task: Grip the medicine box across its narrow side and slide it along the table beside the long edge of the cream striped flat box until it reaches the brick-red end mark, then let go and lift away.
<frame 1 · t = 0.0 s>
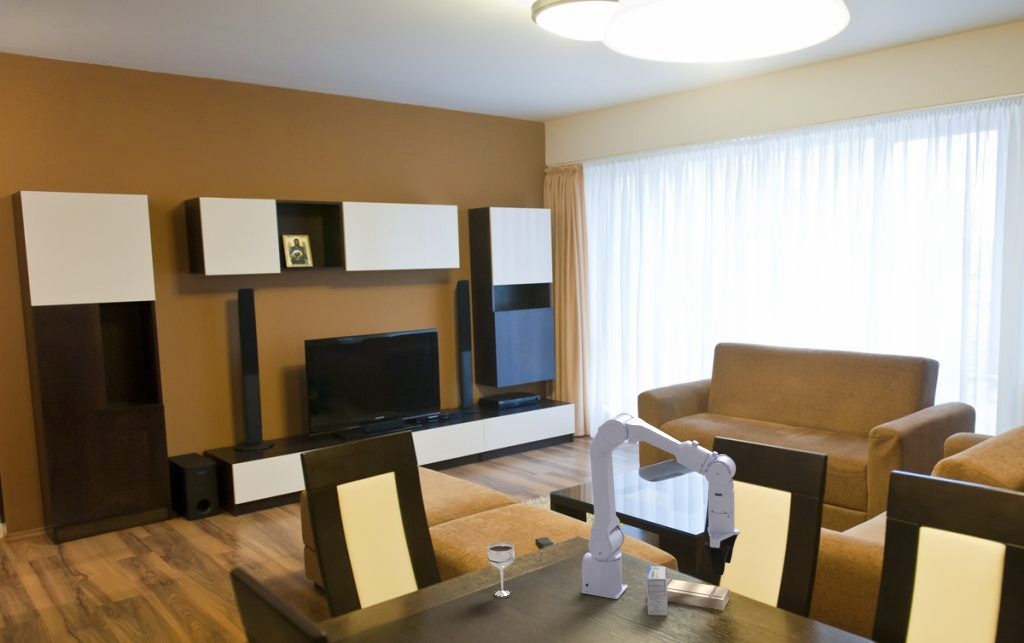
hand: (722, 568, 175), 10 cm above the table, tool pointing down, fingers open, 7 cm apart
medicine box: (657, 609, 178), on the table
wineglass: (502, 595, 189), on the table
cream striped flat box: (688, 598, 183), on the table
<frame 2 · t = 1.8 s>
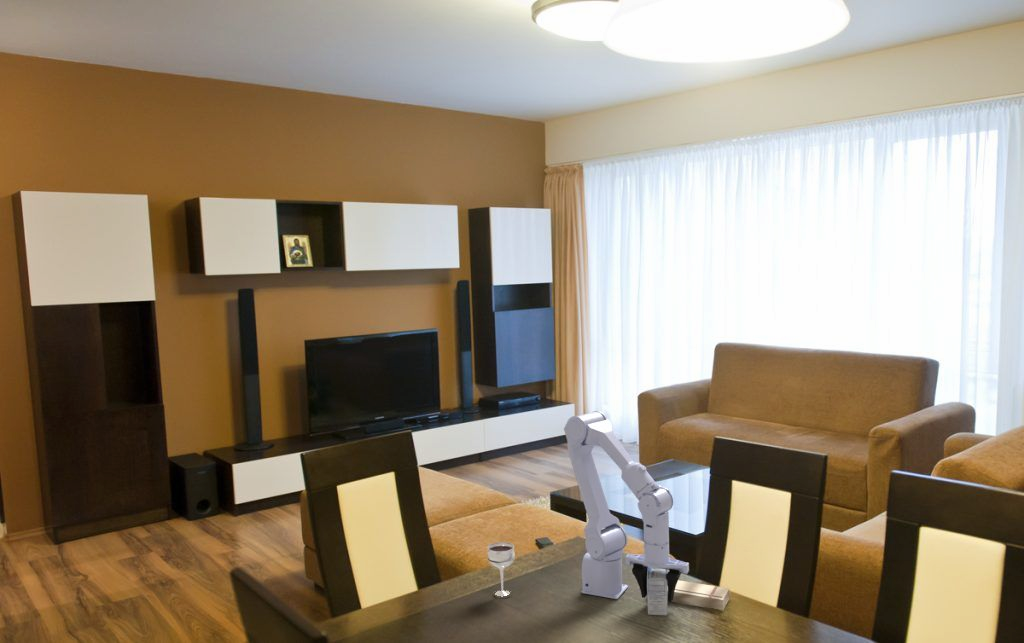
hand: (657, 598, 178), 2 cm above the table, tool pointing down, fingers closed on medicine box, 6 cm apart
medicine box: (657, 609, 178), on the table, touching gripper
everything else where it was.
when the fingers open (2 cm above the table, at t = 2.9 s): medicine box moves 2 cm, on the table.
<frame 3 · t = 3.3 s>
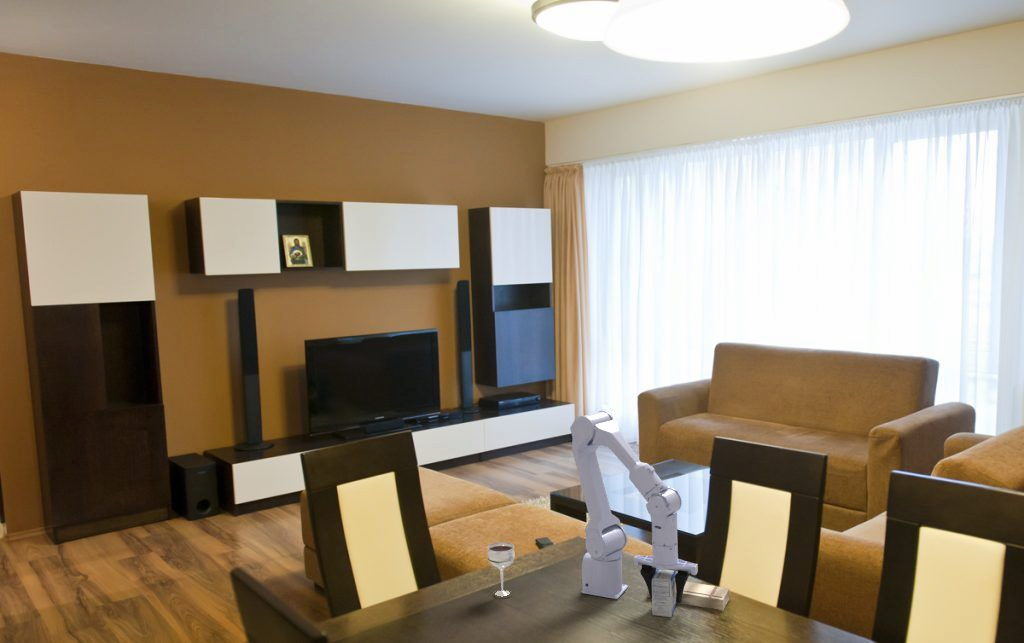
hand: (665, 599, 177), 2 cm above the table, tool pointing down, fingers open, 5 cm apart
medicine box: (664, 610, 177), on the table, touching gripper
everything else where it was.
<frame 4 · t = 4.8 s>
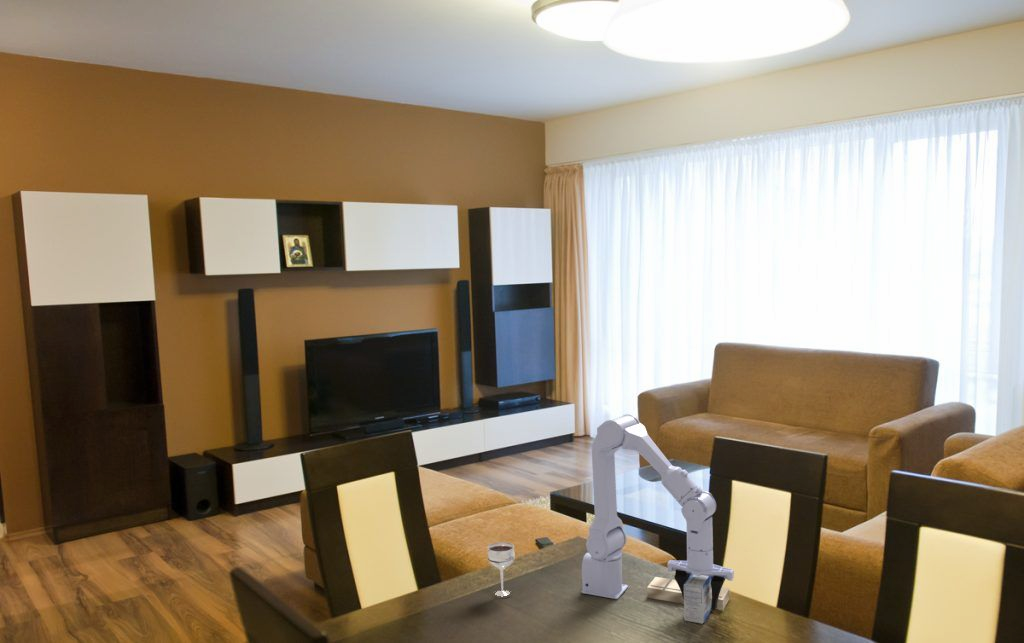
hand: (700, 605, 173), 2 cm above the table, tool pointing down, fingers open, 6 cm apart
medicine box: (697, 616, 174), on the table, touching gripper
everything else where it was.
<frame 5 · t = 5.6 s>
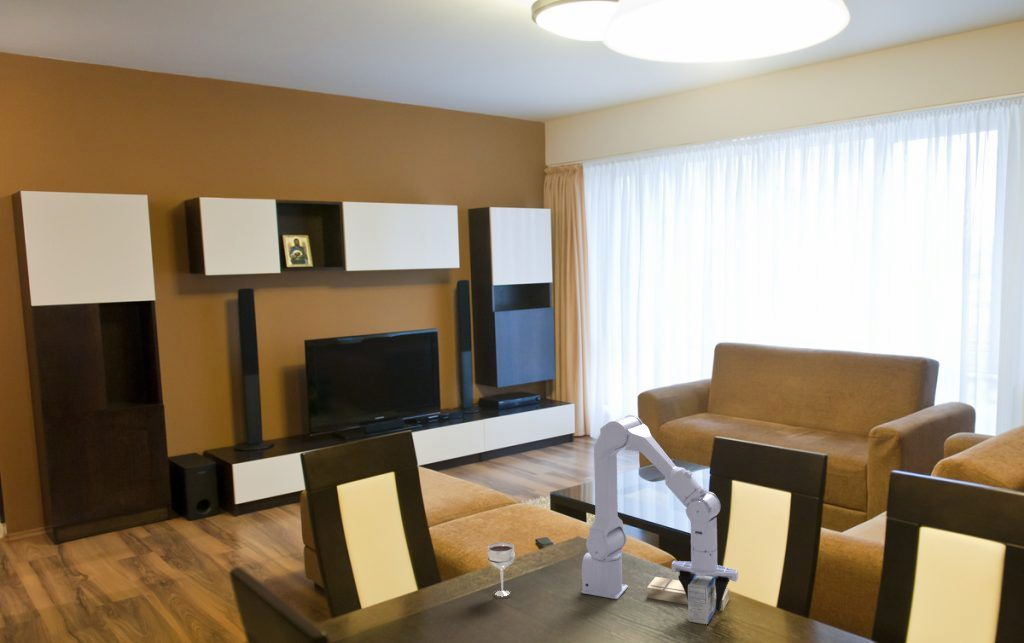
hand: (704, 606, 173), 2 cm above the table, tool pointing down, fingers open, 6 cm apart
medicine box: (701, 617, 173), on the table, touching gripper
everything else where it was.
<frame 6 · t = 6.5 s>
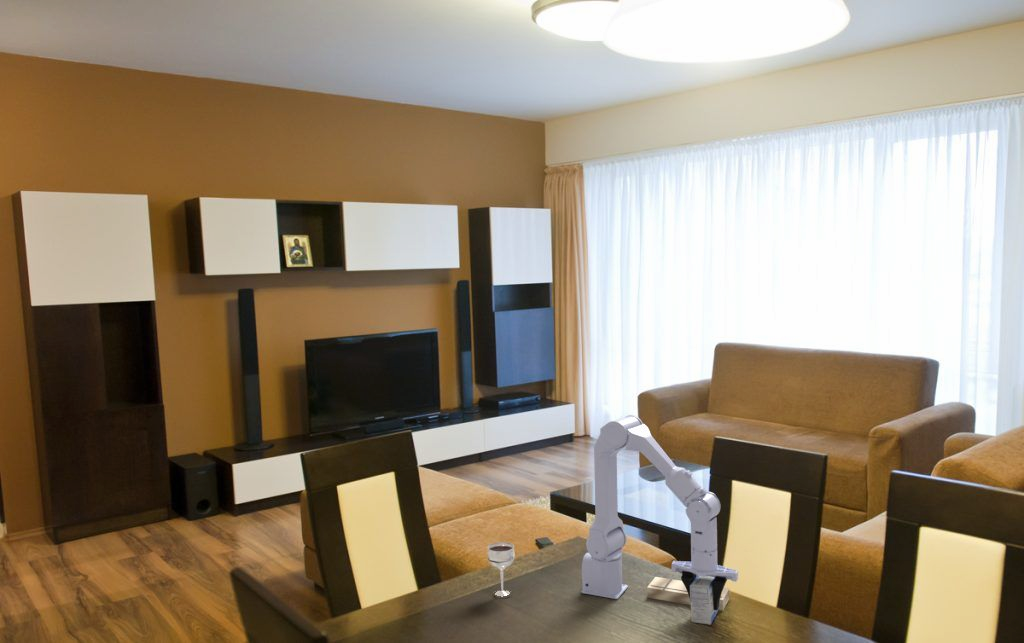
hand: (704, 606, 173), 2 cm above the table, tool pointing down, fingers closed on medicine box, 4 cm apart
medicine box: (705, 617, 173), on the table, touching gripper
everything else where it was.
when the fingers open (2 cm above the table, at t = 6.6 s): medicine box stays where it is, on the table.
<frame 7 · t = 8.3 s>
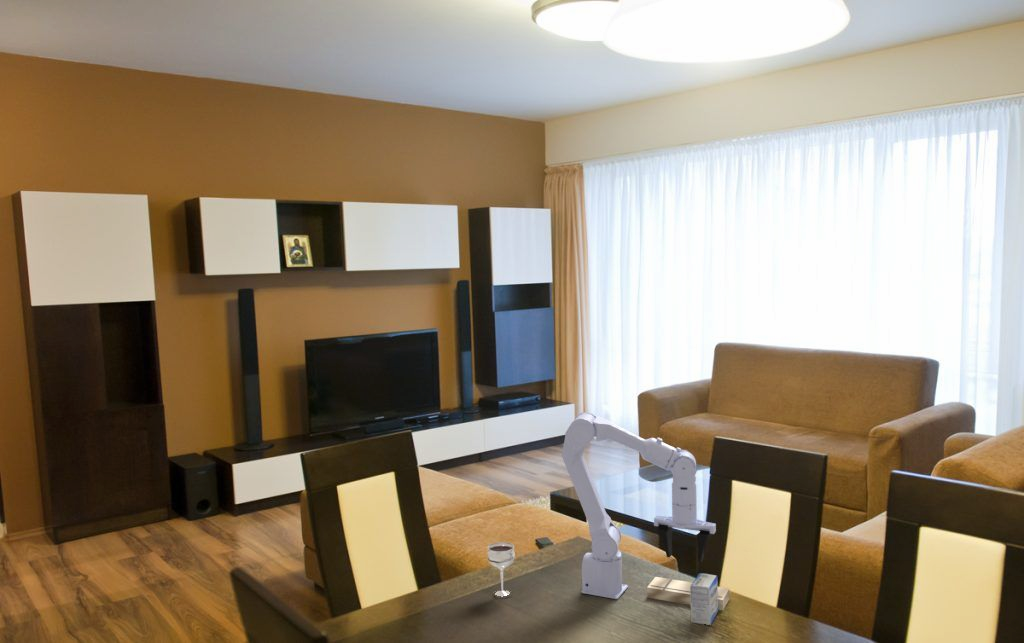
hand: (684, 558, 184), 9 cm above the table, tool pointing down, fingers open, 7 cm apart
medicine box: (704, 618, 173), on the table
everything else where it was.
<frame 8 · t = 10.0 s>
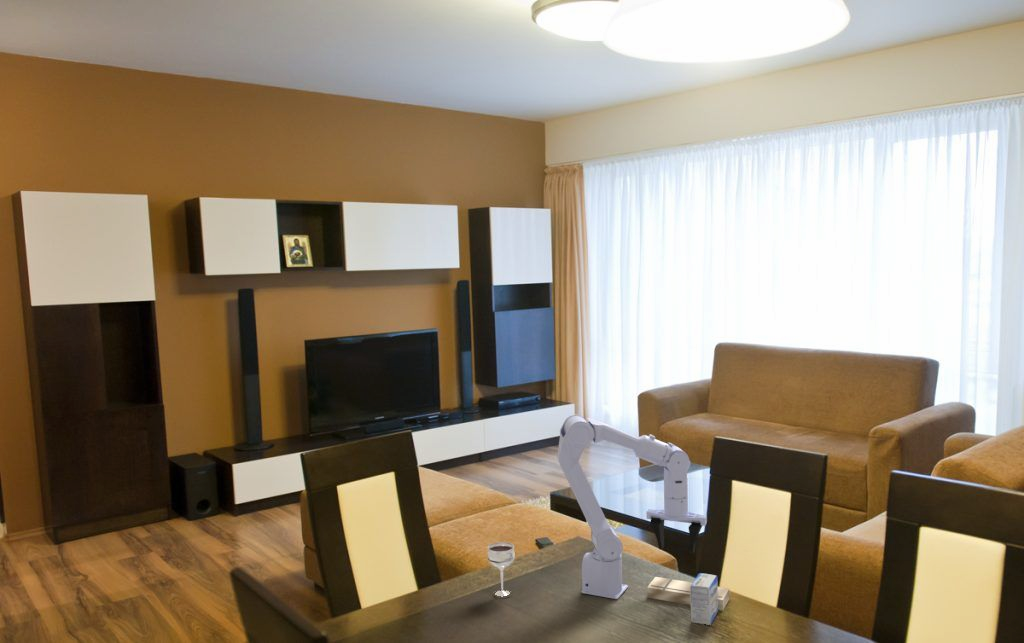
hand: (676, 550, 189), 9 cm above the table, tool pointing down, fingers open, 7 cm apart
nothing on the table moved.
at the end: medicine box 0.2 cm from the target spot, on the table; medicine box tilted 0°; the gripper is holding nothing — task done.
